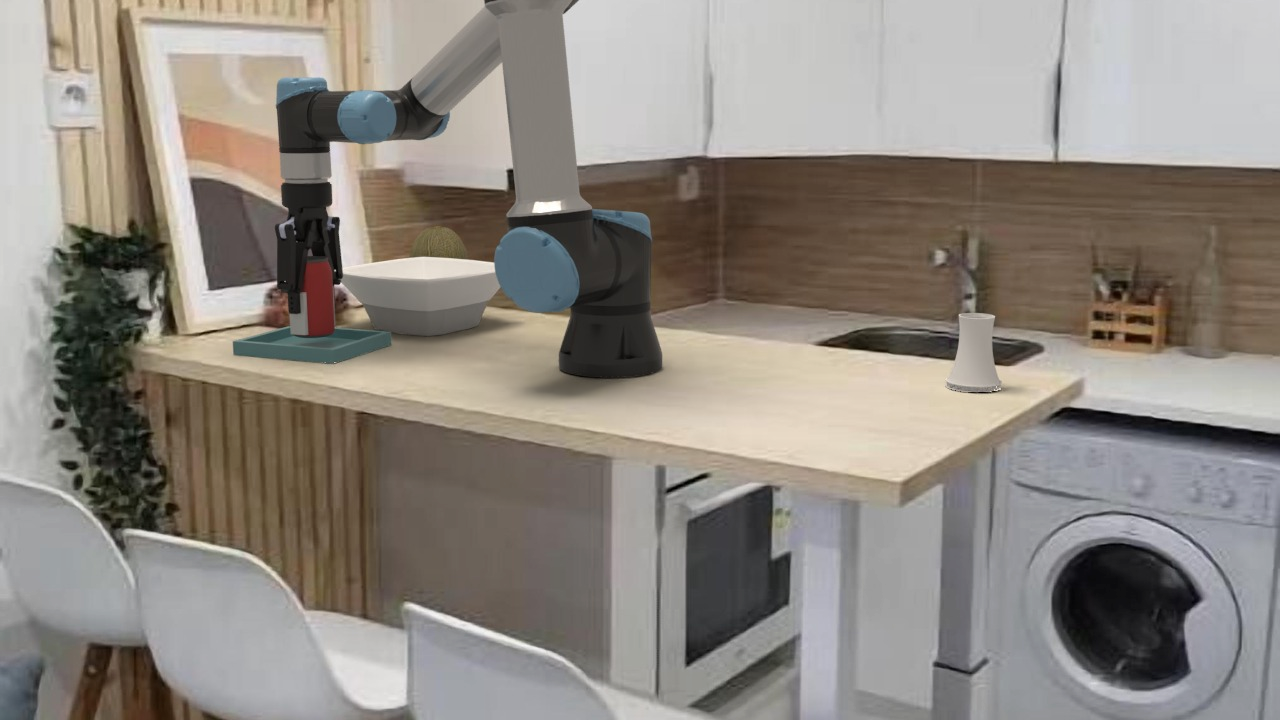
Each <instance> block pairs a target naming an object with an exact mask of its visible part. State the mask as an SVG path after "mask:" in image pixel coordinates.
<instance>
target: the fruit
mask: <svg viewBox="0 0 1280 720" xmlns="http://www.w3.org/2000/svg"><path fill="white" fill-rule="evenodd" d="M414 257H438V258H453V259H465V260H470V257H469V253H468V250H467V248H466V246H465V243H464V242H463V240H462V239H461V236H459V234H457V233H456V232H455V231H454V230H453V229H451V228H449V227H446V226H440V225H436V226H434V227H433V226H431V227H427V228H425V229H423V230H422V231H421V232H420V233H419V234H418V235H417V236H416V238H415V240H414V242H413V244H412V245H411V248H410V252H409V257H408V258H414Z"/></svg>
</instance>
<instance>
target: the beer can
mask: <svg viewBox="0 0 1280 720" xmlns="http://www.w3.org/2000/svg"><path fill="white" fill-rule="evenodd" d="M295 284H296V282H295ZM302 292H306V296H307V317H308V335H295V334H293V335H294V336H296V337H300V338H321V337H327V336H330V335H331V334H333V333H334V331H335V327H336V324H335V325H334V305H335V304H334V302H333V280H332V270H331V267H330V265H329V262H328V258H327V257H324V256H313V255H308V256H307V263H306V270H305V276H304V283H303V290H302Z"/></svg>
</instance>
